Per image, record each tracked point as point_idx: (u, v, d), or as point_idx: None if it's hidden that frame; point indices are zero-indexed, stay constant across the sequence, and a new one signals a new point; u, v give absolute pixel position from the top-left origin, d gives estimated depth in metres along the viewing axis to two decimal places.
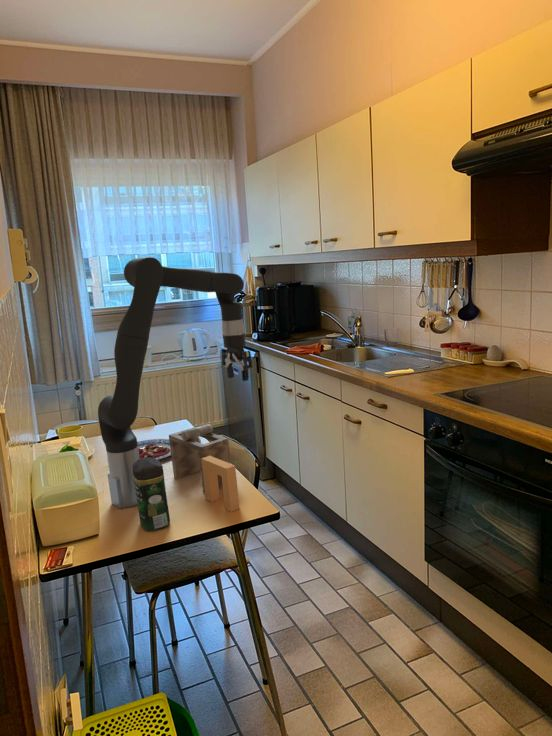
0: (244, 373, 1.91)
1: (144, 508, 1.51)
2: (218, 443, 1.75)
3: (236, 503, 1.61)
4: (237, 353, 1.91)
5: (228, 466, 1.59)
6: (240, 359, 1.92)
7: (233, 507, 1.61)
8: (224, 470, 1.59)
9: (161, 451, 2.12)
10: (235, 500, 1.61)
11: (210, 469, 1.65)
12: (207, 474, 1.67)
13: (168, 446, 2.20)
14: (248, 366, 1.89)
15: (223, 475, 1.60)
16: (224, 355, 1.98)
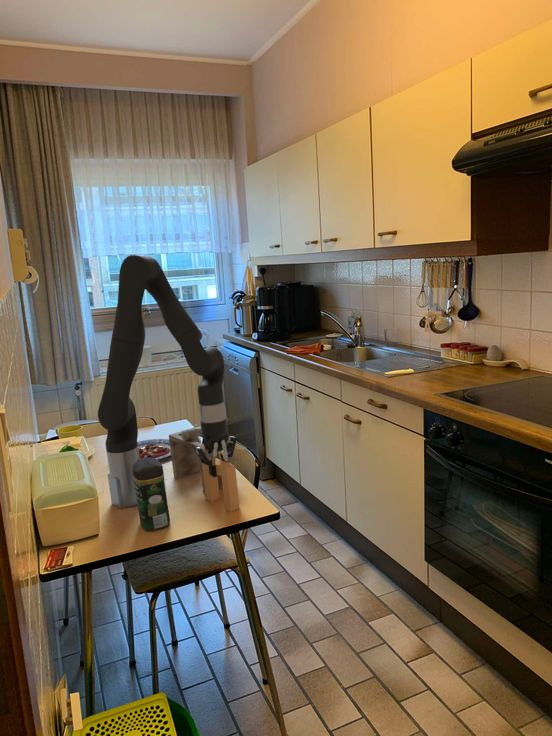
0: None
1: (144, 508, 1.51)
2: None
3: (236, 503, 1.61)
4: (225, 440, 1.63)
5: (228, 466, 1.59)
6: None
7: (233, 507, 1.61)
8: (224, 470, 1.59)
9: (161, 451, 2.12)
10: (235, 500, 1.61)
11: None
12: (207, 474, 1.67)
13: (168, 446, 2.20)
14: None
15: (223, 475, 1.60)
16: None
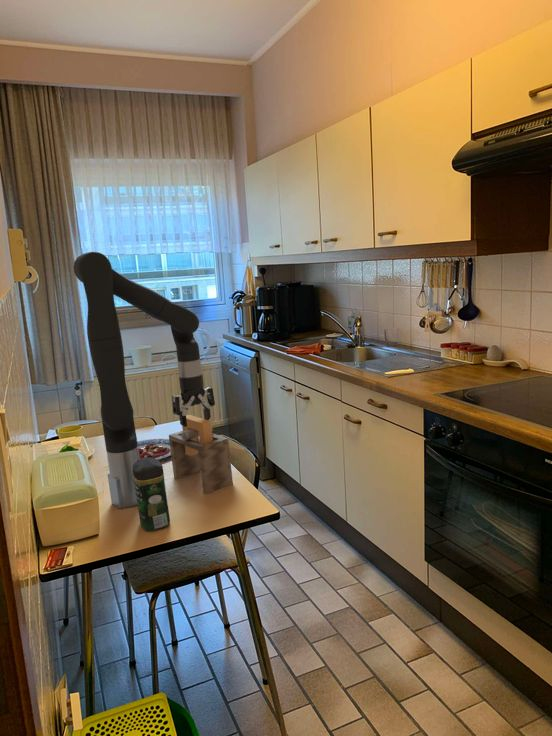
0: (209, 411, 1.83)
1: (144, 508, 1.51)
2: (218, 443, 1.75)
3: None
4: (201, 393, 1.80)
5: (204, 421, 1.77)
6: None
7: None
8: (200, 425, 1.76)
9: (161, 451, 2.12)
10: None
11: (189, 426, 1.82)
12: None
13: (168, 446, 2.20)
14: None
15: (200, 430, 1.77)
16: None
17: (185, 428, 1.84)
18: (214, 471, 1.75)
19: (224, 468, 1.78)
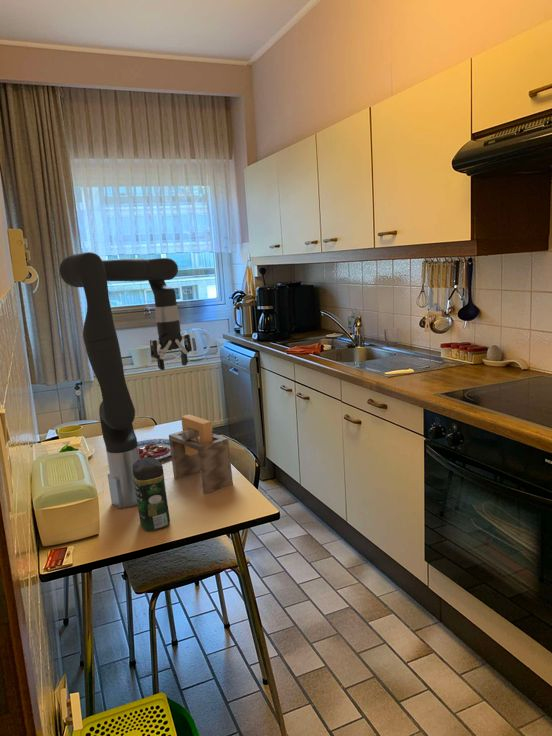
0: (186, 357, 1.92)
1: (144, 508, 1.51)
2: (218, 443, 1.75)
3: None
4: (178, 338, 1.89)
5: (204, 422, 1.77)
6: None
7: None
8: (200, 426, 1.76)
9: (161, 451, 2.12)
10: None
11: (189, 425, 1.82)
12: (186, 430, 1.84)
13: (168, 446, 2.20)
14: None
15: (200, 430, 1.77)
16: None
17: (185, 428, 1.84)
18: (214, 471, 1.75)
19: (224, 468, 1.78)
